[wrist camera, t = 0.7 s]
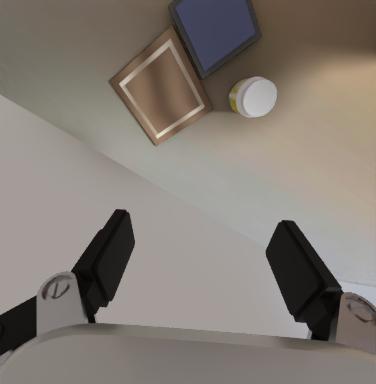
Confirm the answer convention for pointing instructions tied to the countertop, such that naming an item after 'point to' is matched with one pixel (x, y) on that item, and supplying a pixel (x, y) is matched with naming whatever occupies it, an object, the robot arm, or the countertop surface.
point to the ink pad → (215, 30)
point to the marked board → (162, 88)
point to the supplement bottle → (253, 97)
